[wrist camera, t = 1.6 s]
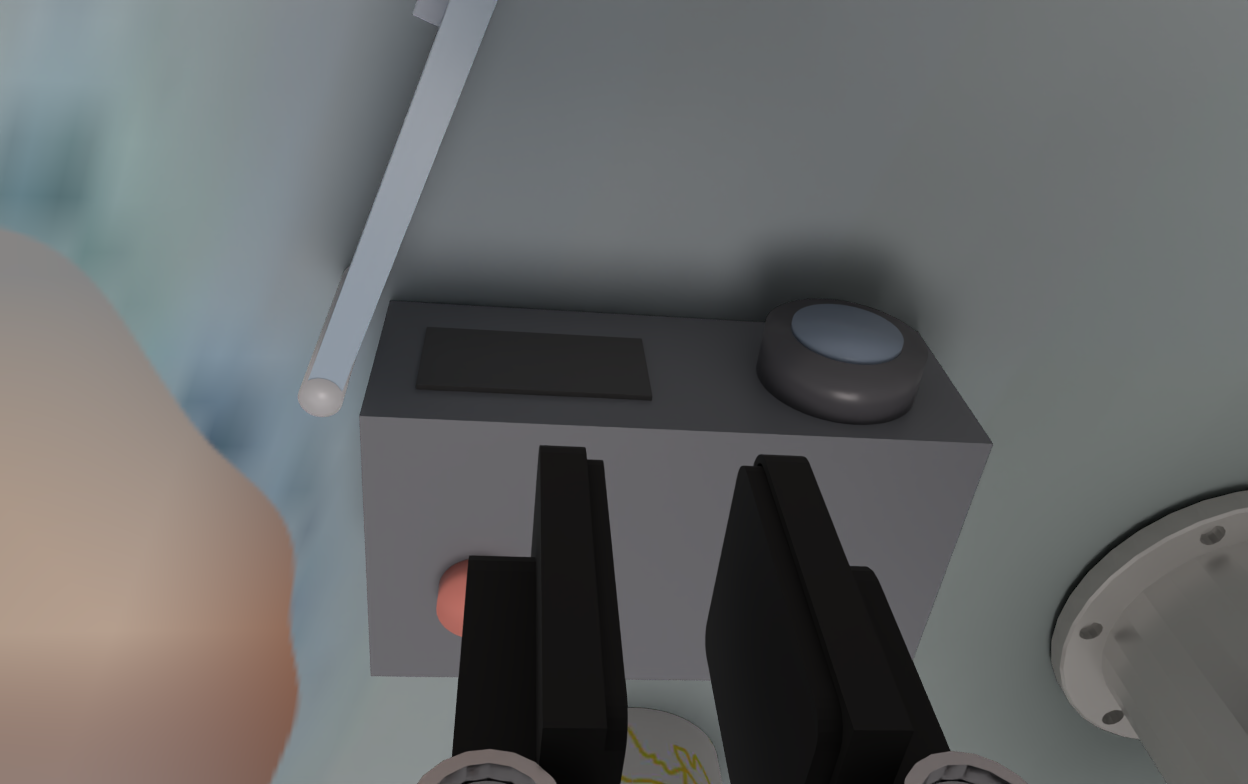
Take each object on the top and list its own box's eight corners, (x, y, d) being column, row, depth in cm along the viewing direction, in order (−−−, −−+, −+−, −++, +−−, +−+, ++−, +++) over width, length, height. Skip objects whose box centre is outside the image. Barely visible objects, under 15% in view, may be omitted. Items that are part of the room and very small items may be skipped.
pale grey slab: (453, -88, 23) (429, -44, 18) (512, -58, 24) (506, -7, 18) (320, 282, 28) (270, 401, 23) (371, 301, 28) (334, 422, 23)
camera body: (931, 284, 30) (1026, 409, 24) (851, 551, 35) (912, 703, 30) (389, 249, 28) (351, 376, 22) (395, 537, 33) (366, 698, 28)
